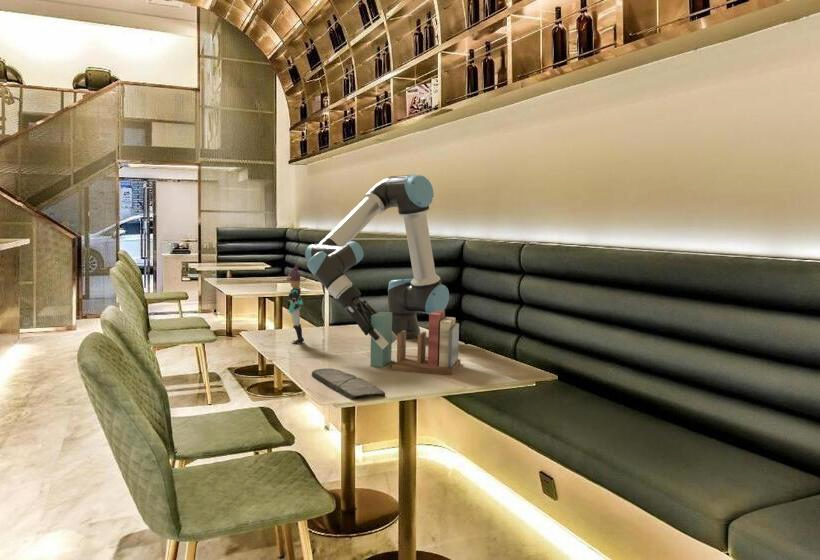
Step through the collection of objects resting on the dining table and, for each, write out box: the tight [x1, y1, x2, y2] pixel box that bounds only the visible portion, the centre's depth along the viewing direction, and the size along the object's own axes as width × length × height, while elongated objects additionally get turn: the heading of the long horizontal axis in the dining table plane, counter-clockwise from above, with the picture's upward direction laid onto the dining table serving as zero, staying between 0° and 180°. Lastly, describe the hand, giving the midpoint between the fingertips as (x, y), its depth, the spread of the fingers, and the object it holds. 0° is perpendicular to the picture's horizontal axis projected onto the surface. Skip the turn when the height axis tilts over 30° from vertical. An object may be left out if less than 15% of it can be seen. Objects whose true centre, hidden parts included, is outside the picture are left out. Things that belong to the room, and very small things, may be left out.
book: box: [369, 311, 393, 368], centre depth 197 cm, size 10×4×16 cm, turn 166°
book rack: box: [391, 310, 461, 376], centre depth 193 cm, size 16×18×18 cm
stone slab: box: [311, 368, 386, 401], centre depth 169 cm, size 10×3×30 cm
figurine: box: [282, 262, 308, 345], centre depth 226 cm, size 20×9×30 cm, turn 2°
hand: (390, 343), depth 196 cm, fingers closed on book, 10 cm apart
